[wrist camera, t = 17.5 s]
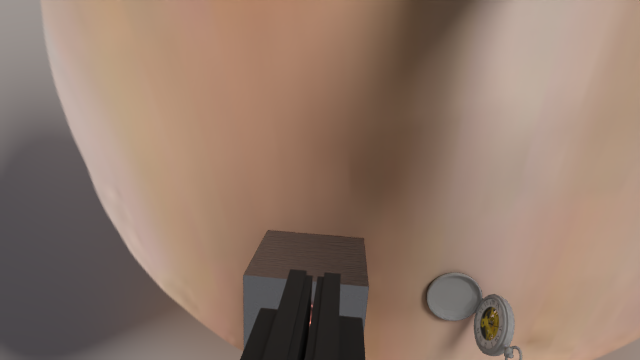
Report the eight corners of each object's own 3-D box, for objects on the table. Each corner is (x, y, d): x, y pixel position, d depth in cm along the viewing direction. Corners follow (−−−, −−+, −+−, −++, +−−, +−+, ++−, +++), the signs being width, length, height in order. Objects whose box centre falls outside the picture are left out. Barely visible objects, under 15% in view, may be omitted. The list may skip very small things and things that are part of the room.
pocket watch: (420, 276, 43) (441, 332, 33) (489, 261, 41) (531, 315, 32) (434, 330, 45) (457, 397, 35) (499, 317, 43) (543, 383, 34)
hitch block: (363, 238, 42) (368, 286, 32) (355, 320, 45) (357, 387, 35) (267, 230, 43) (243, 275, 33) (266, 311, 46) (244, 374, 36)
